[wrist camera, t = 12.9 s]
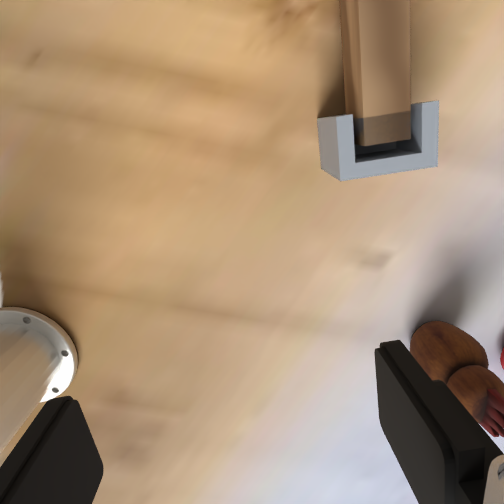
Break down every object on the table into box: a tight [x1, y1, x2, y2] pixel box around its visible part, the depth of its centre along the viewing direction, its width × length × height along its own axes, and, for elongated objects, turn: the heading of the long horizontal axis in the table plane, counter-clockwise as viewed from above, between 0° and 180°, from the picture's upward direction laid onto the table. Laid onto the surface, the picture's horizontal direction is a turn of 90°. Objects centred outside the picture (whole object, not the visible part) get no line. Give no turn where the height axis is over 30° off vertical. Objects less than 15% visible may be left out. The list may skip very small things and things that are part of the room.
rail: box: [339, 0, 411, 146], centre depth 27 cm, size 3×14×5 cm, turn 9°
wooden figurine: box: [410, 321, 504, 437], centre depth 35 cm, size 7×6×15 cm
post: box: [317, 101, 439, 181], centre depth 31 cm, size 7×5×8 cm, turn 99°
